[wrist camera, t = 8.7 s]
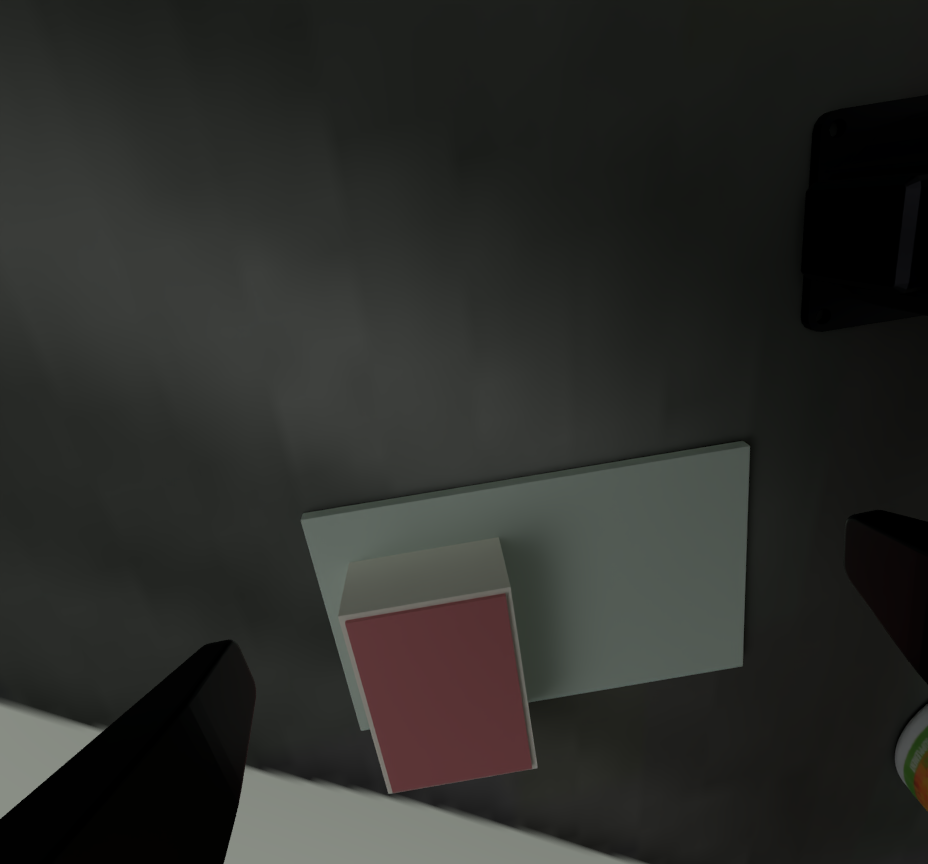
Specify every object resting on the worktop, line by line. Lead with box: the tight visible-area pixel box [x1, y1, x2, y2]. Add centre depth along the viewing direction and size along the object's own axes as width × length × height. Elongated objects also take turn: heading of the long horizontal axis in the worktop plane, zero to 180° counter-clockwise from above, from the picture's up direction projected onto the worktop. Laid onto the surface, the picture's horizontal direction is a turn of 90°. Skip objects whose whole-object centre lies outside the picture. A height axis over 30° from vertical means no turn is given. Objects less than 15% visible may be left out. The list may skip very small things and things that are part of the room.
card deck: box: [338, 537, 538, 794], centre depth 21 cm, size 8×6×3 cm
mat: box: [301, 441, 750, 731], centre depth 22 cm, size 16×10×1 cm, turn 99°
